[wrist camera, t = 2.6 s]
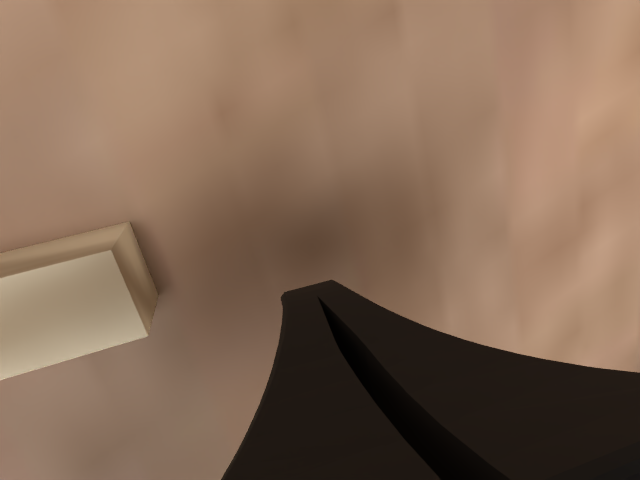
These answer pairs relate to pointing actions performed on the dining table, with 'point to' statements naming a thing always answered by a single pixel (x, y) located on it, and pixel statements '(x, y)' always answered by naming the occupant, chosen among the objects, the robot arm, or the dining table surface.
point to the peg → (72, 298)
